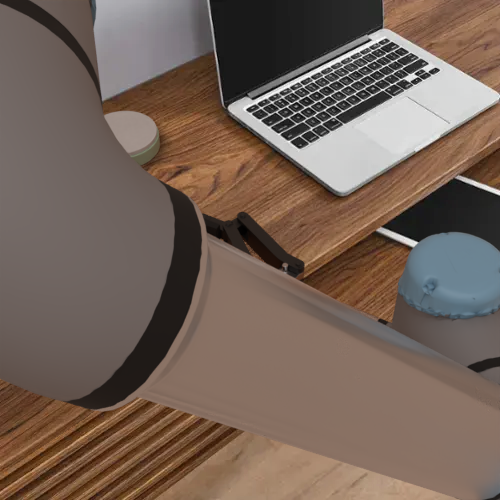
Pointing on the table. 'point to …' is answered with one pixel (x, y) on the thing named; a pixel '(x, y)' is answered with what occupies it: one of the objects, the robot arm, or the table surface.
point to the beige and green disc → (135, 134)
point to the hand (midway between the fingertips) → (127, 256)
